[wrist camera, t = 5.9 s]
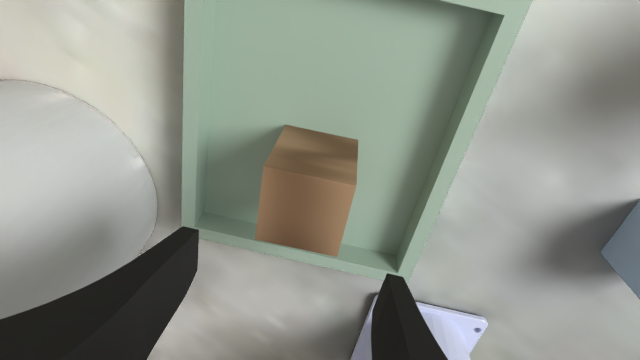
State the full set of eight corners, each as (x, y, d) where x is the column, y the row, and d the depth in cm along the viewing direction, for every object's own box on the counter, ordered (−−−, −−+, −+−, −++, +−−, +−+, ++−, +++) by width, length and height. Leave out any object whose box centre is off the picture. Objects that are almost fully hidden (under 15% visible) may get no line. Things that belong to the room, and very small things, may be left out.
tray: (403, 261, 24) (406, 285, 22) (195, 213, 24) (181, 234, 22) (514, -5, 16) (533, -3, 15) (206, -76, 16) (185, -83, 14)
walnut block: (358, 139, 20) (356, 185, 16) (342, 201, 22) (337, 257, 18) (285, 124, 20) (263, 166, 16) (276, 186, 22) (254, 239, 18)
